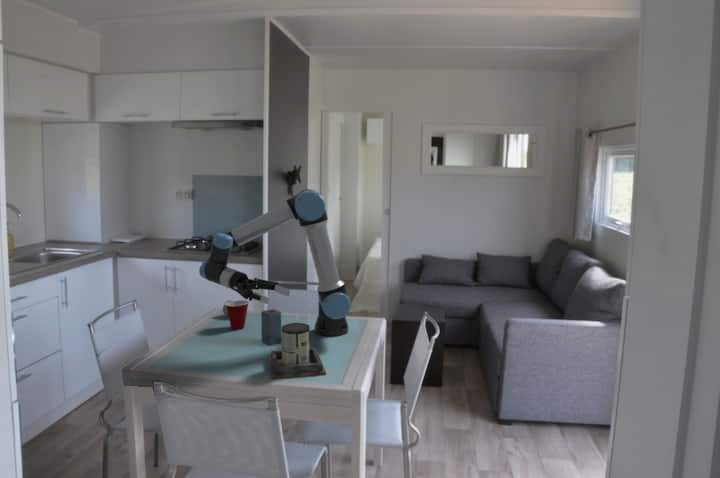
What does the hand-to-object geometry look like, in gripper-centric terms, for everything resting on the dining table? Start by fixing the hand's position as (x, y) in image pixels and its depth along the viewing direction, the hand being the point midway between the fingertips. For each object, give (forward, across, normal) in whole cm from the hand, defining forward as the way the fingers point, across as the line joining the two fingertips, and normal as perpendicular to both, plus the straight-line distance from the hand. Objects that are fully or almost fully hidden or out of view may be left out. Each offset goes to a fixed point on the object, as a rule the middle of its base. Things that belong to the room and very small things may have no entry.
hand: (279, 296), depth 198 cm
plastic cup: (-33, -24, -32) cm, 51 cm away
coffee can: (+15, +4, -21) cm, 26 cm away
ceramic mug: (-45, -39, -34) cm, 69 cm away
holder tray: (+15, +4, -22) cm, 26 cm away
